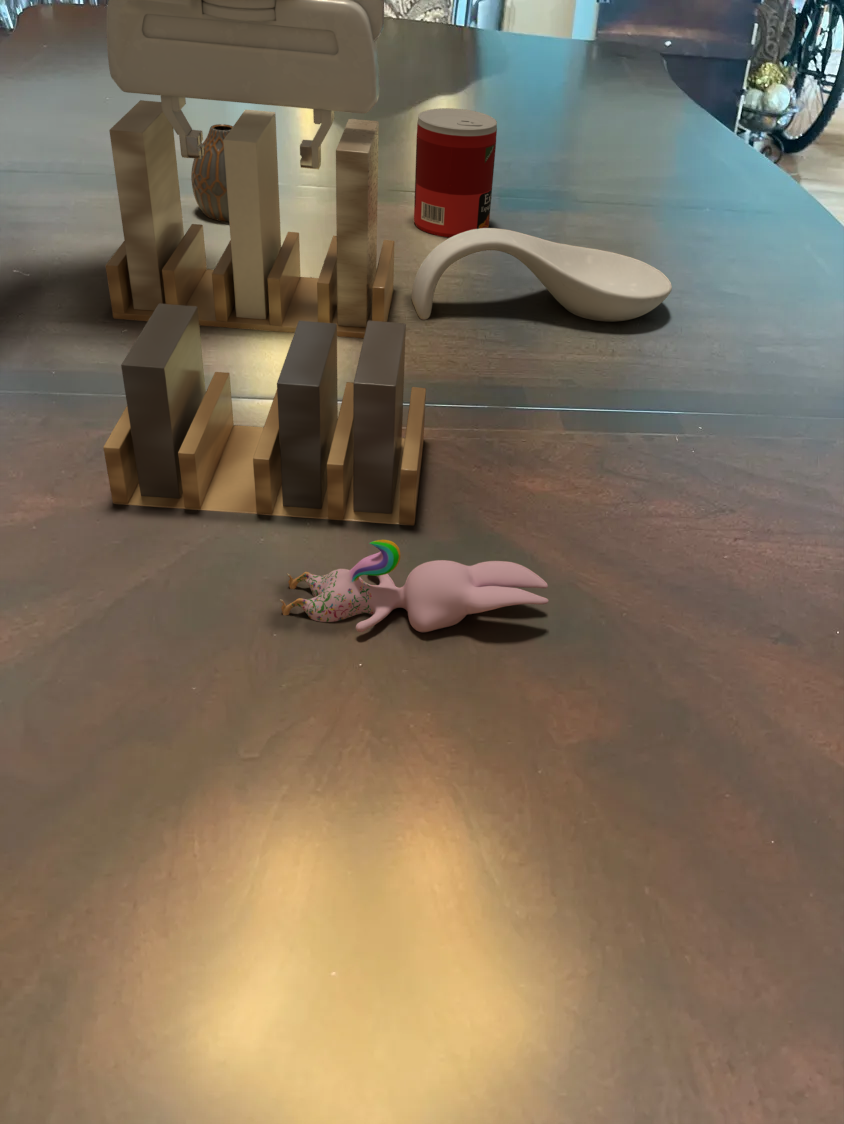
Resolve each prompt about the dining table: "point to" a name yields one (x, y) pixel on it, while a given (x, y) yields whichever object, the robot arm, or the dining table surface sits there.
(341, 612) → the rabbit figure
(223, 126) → the vase
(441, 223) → the canned food
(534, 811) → the dining table surface
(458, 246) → the spoon rest
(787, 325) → the dining table surface
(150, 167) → the wooden slotted rack
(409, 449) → the brown wooden book rack
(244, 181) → the white book
